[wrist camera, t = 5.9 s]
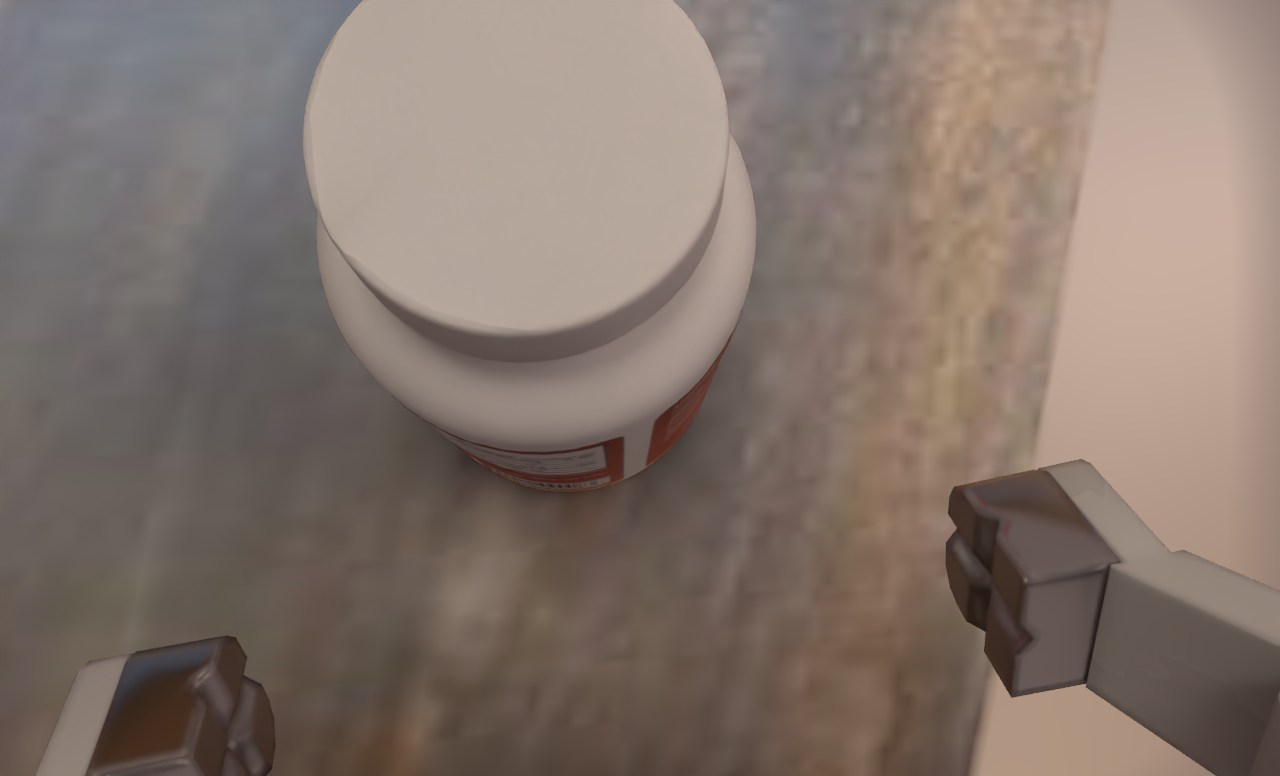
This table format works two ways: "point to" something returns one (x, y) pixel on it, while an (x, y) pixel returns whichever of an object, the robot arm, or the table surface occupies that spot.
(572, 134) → the pill bottle
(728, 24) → the table surface
